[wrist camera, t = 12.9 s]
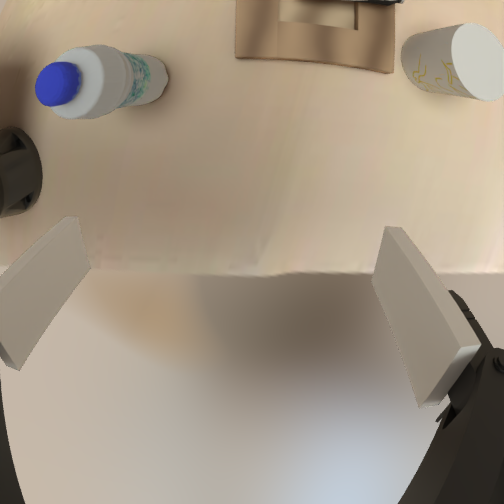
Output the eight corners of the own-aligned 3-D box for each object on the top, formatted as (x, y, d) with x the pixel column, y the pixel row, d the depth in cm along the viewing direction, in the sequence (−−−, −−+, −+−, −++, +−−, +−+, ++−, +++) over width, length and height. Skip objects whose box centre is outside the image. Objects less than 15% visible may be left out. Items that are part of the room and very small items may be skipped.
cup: (392, 70, 29) (440, 68, 19) (413, 22, 25) (463, 7, 15) (440, 103, 31) (496, 117, 20) (459, 57, 27) (516, 58, 16)
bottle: (127, 55, 30) (18, 48, 13) (176, 54, 30) (89, 32, 13) (122, 104, 33) (14, 134, 16) (170, 106, 33) (81, 132, 16)
